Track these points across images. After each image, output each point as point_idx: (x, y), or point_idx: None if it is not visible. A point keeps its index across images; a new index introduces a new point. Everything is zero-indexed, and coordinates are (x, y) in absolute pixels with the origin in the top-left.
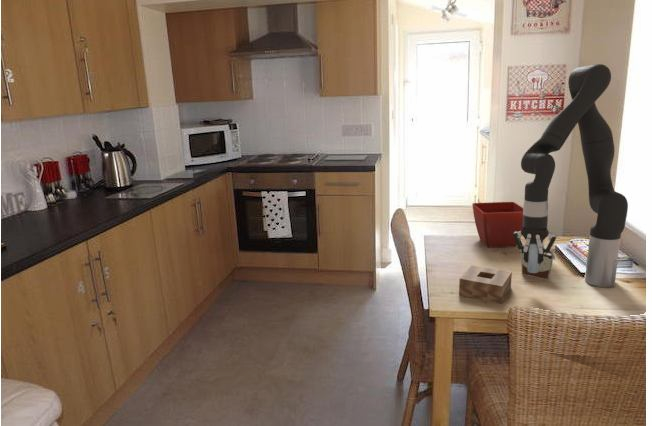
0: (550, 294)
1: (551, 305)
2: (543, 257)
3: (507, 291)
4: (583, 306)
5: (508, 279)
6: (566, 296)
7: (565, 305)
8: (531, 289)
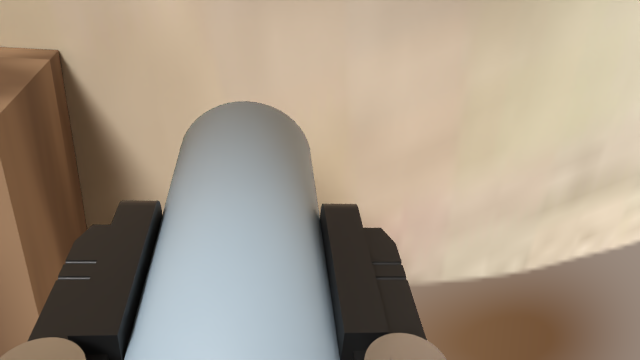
0: (400, 54)
1: (400, 233)
2: (403, 289)
3: (73, 185)
4: (596, 168)
5: (36, 242)
6: (520, 42)
7: (486, 199)
8: (239, 6)
